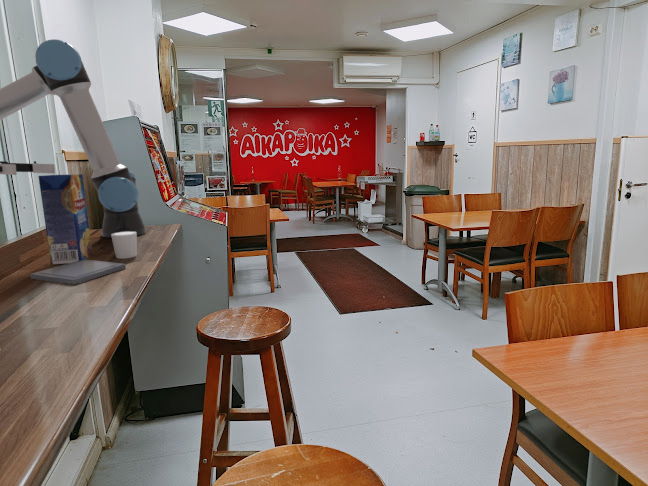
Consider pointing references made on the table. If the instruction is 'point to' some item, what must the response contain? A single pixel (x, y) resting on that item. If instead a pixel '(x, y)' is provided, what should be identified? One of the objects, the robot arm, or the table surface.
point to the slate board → (77, 271)
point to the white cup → (125, 244)
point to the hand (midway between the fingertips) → (35, 169)
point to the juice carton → (65, 217)
